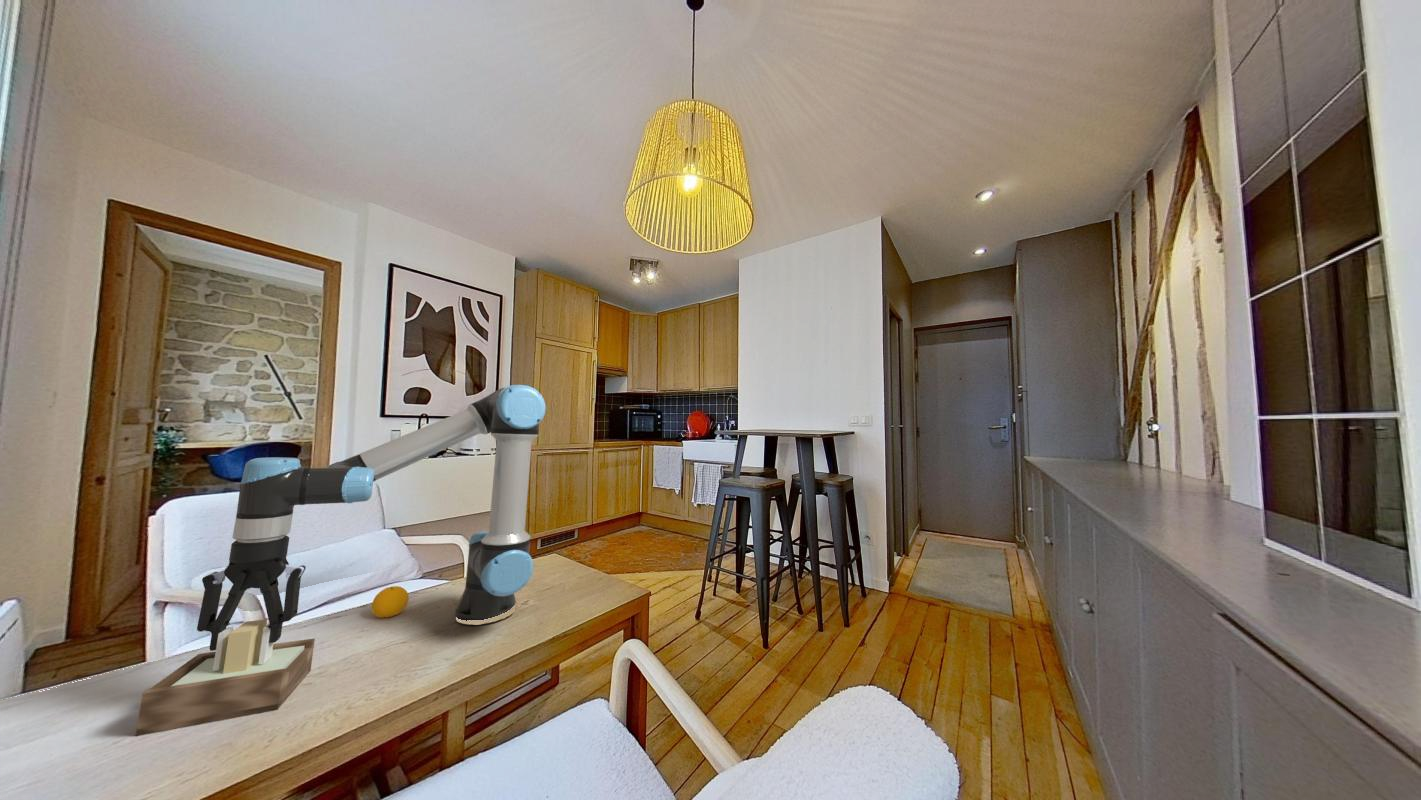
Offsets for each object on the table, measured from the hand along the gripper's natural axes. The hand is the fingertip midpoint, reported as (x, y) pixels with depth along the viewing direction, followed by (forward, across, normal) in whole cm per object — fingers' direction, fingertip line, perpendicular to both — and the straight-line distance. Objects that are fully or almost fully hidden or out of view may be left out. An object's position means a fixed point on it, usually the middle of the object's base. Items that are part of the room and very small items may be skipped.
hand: (243, 663), depth 75 cm
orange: (+7, -16, -32) cm, 36 cm away
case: (+6, 0, 0) cm, 6 cm away
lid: (+1, 0, 0) cm, 1 cm away
